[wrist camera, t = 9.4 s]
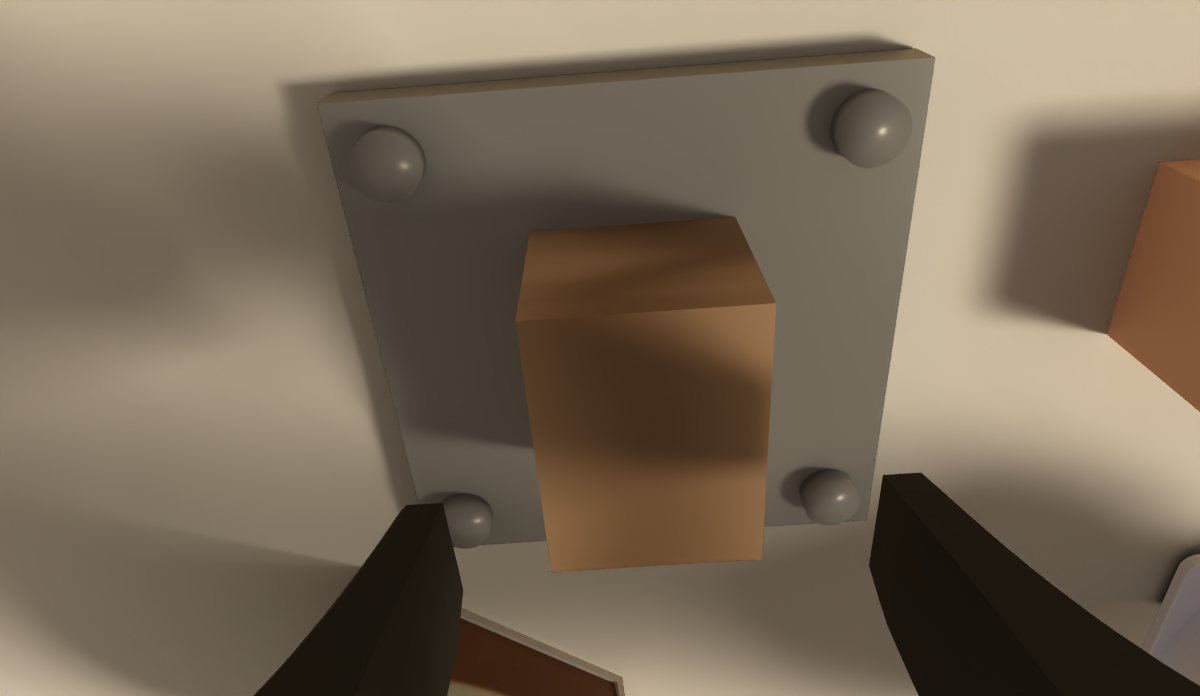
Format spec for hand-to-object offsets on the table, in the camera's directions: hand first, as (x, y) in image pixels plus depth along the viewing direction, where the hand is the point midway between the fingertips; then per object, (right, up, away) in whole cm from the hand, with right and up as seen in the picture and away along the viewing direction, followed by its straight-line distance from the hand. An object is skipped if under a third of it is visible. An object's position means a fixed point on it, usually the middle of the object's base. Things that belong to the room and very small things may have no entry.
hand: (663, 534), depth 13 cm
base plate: (0, +4, +6) cm, 7 cm away
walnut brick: (0, +3, +5) cm, 6 cm away
